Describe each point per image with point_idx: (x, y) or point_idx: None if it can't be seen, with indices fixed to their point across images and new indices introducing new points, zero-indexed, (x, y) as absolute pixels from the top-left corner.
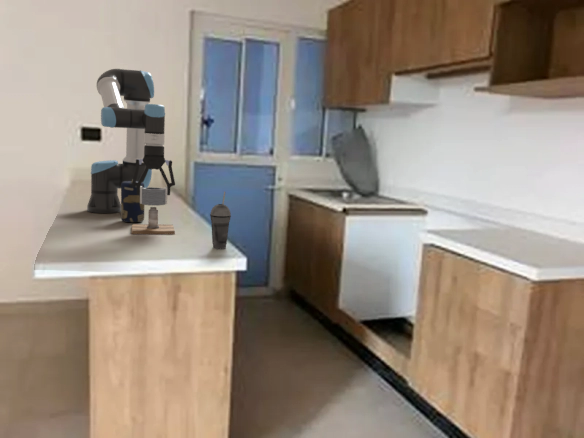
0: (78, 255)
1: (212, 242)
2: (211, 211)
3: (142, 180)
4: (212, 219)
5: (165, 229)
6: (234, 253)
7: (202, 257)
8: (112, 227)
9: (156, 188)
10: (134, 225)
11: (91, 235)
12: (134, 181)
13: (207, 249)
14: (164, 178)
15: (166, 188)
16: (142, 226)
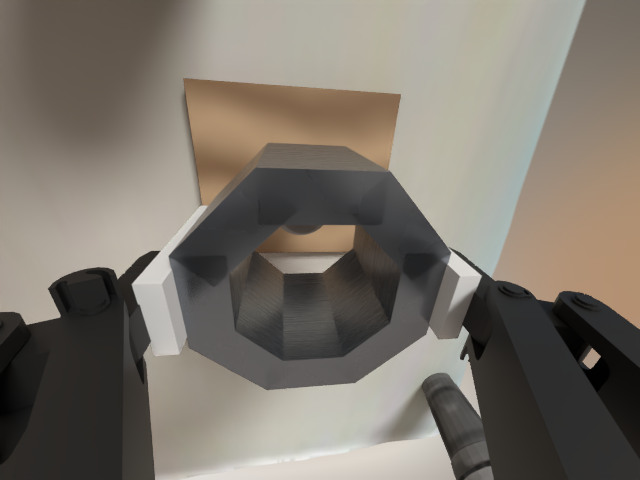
0: None
1: (427, 394)
2: None
3: (146, 437)
4: (454, 473)
5: None
6: None
7: (376, 437)
8: (79, 83)
9: (356, 223)
10: (202, 121)
11: (61, 272)
12: (18, 430)
13: (406, 394)
14: (499, 449)
15: (442, 330)
16: (246, 151)
